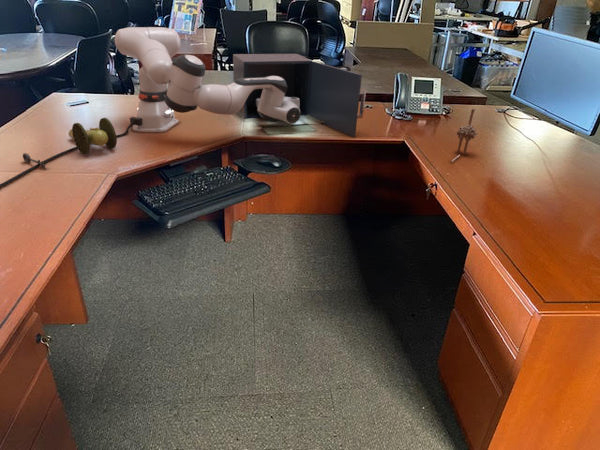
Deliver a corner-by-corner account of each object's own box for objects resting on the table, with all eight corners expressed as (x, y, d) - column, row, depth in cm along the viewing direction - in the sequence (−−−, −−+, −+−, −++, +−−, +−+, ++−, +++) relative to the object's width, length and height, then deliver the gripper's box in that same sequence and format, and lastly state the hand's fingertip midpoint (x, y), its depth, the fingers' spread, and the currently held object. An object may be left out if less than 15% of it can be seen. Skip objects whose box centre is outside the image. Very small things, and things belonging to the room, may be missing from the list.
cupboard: (309, 117, 217) (312, 60, 204) (244, 121, 206) (243, 61, 193) (294, 106, 233) (297, 53, 220) (234, 109, 222) (232, 54, 209)
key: (23, 161, 152) (20, 152, 151) (26, 161, 153) (23, 151, 151) (44, 170, 147) (42, 160, 145) (47, 169, 148) (45, 159, 146)
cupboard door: (320, 116, 219) (323, 60, 206) (364, 134, 197) (372, 73, 184) (308, 117, 216) (312, 61, 203) (353, 136, 193) (359, 74, 180)
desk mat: (315, 131, 198) (315, 130, 198) (268, 134, 191) (268, 133, 191) (301, 119, 213) (301, 119, 212) (256, 122, 205) (256, 121, 205)
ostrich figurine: (456, 149, 186) (466, 106, 177) (472, 153, 182) (483, 109, 174) (442, 160, 173) (452, 114, 165) (459, 164, 170) (470, 118, 161)
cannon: (59, 141, 171) (52, 112, 165) (89, 135, 179) (84, 107, 173) (90, 159, 157) (84, 128, 151) (121, 152, 165) (117, 122, 159)
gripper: (260, 114, 201) (251, 106, 212) (302, 112, 208) (292, 104, 219) (260, 100, 198) (251, 92, 209) (302, 98, 204) (292, 91, 216)
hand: (272, 98), depth 214 cm, fingers closed on steel tumbler, 6 cm apart
